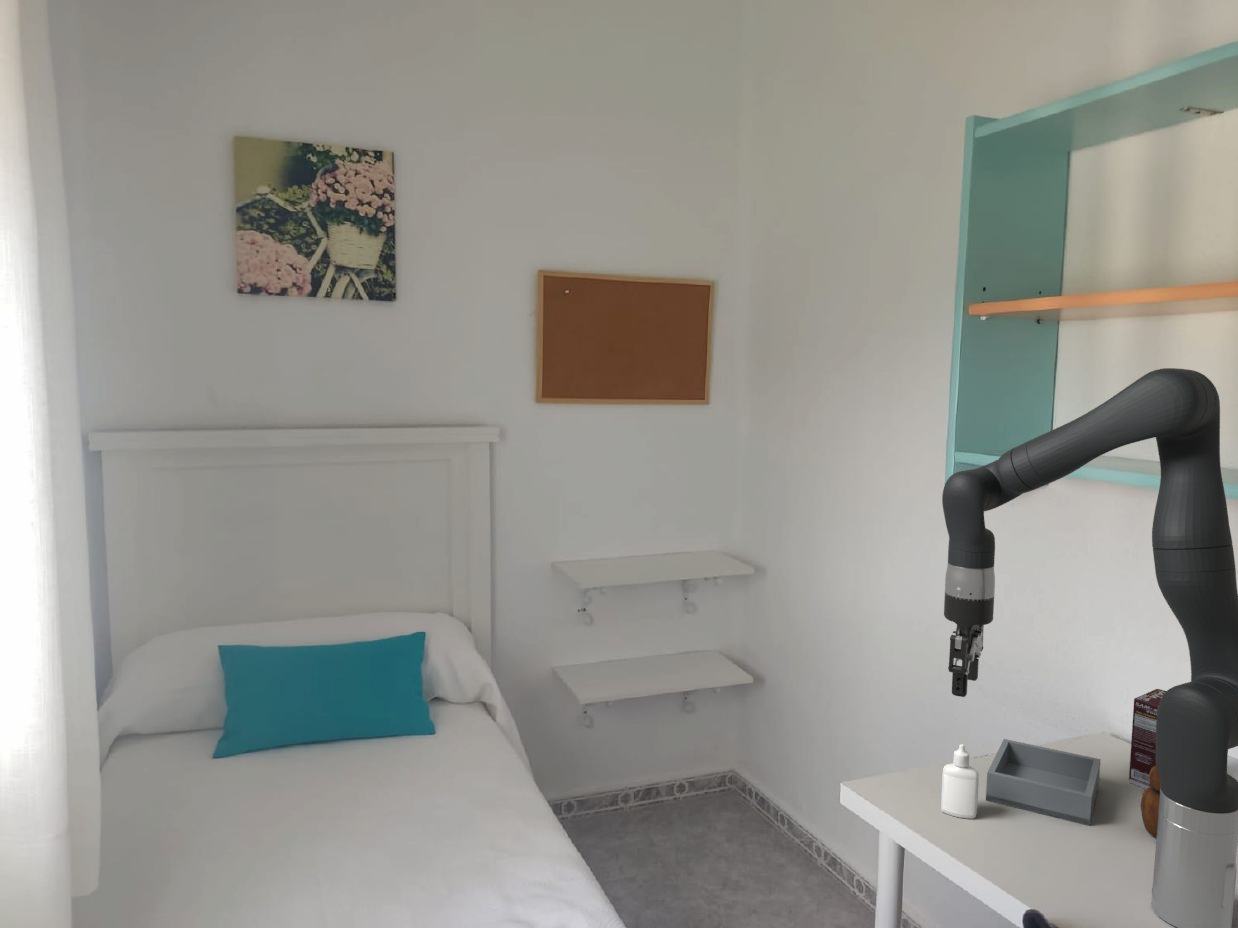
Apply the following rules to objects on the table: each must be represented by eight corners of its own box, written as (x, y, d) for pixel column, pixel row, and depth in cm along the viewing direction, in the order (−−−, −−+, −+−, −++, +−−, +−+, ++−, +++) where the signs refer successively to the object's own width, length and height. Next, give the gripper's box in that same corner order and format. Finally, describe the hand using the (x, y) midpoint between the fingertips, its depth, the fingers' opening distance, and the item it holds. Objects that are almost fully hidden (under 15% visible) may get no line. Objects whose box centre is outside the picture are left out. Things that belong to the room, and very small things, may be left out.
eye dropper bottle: (965, 823, 149) (968, 754, 148) (936, 809, 154) (939, 742, 152) (981, 816, 152) (984, 747, 150) (952, 802, 156) (955, 735, 155)
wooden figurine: (1190, 847, 142) (1197, 756, 140) (1149, 844, 143) (1156, 753, 141) (1173, 825, 149) (1180, 738, 147) (1134, 822, 150) (1140, 735, 148)
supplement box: (1150, 769, 168) (1156, 687, 166) (1178, 780, 164) (1185, 695, 162) (1126, 782, 163) (1132, 697, 161) (1154, 793, 159) (1161, 706, 157)
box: (1098, 785, 162) (1100, 759, 161) (1089, 825, 149) (1091, 796, 148) (1002, 764, 171) (1003, 738, 170) (985, 800, 157) (987, 772, 157)
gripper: (985, 605, 140) (980, 706, 142) (1002, 584, 152) (997, 678, 154) (934, 598, 144) (930, 696, 146) (955, 578, 156) (951, 670, 158)
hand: (964, 687), depth 150 cm, fingers open, 8 cm apart
